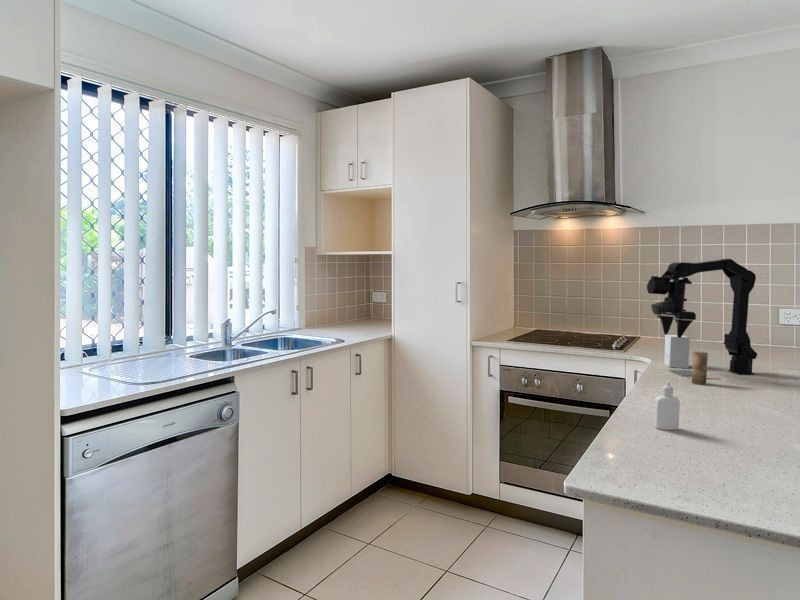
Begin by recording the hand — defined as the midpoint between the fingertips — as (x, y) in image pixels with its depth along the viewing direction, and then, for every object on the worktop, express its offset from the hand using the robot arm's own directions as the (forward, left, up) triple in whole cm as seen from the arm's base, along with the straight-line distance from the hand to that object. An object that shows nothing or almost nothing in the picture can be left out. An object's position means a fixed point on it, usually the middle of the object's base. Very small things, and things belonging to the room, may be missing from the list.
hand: (672, 335), depth 200 cm
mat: (-5, +2, -14) cm, 15 cm away
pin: (-1, +18, -14) cm, 23 cm away
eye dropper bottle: (+36, +69, -15) cm, 79 cm away
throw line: (-7, +10, -14) cm, 19 cm away
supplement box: (-9, -13, -15) cm, 22 cm away
